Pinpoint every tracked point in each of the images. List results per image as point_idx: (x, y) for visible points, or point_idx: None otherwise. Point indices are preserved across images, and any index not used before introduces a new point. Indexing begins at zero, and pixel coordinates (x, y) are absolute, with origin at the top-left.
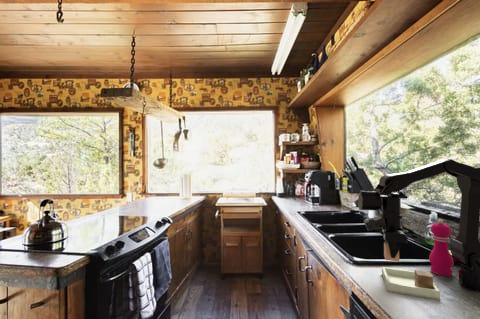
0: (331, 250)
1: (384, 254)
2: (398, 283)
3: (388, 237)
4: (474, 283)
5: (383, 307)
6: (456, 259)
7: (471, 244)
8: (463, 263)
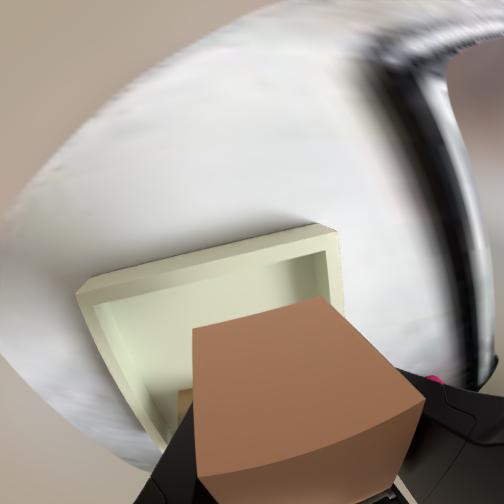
0: (451, 8)
1: (307, 314)
2: (204, 320)
3: None
4: None
5: None
6: (394, 487)
7: None
8: (375, 496)
